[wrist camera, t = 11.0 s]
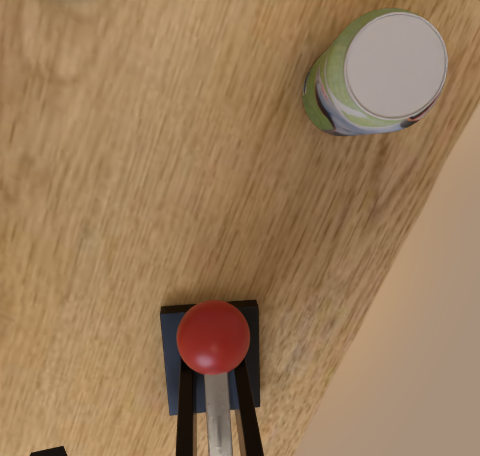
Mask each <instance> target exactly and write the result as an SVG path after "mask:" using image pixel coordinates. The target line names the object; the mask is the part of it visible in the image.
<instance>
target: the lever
mask: <svg viewBox="0 0 480 456" xmlns="http://www.w3.org/2000/svg"><path fill="white" fill-rule="evenodd" d="M249 344H250V331H249V327H248V324H247V321H246V319H245V317H244V316H243V315H242V313H241V312H240V311H239V310H238V309H237V308H236V307H234V306H233V305H231V304H229V303H227V302H224V301H219V300H208V301H204V302H201V303H199V304H197V305H195V306H193V307H192V308H191V309H189V310H188V311H187V312H186V314H185V315H184V316H183V318H182V320H181V321H180V324H179V327H178V330H177V347H178V350H179V353H180V355H181V357H182V359H183V360H184V362H185V363H186V364H187V365H188V366H189V367H190V368H191V369H193V370H194V371H196V372H198V373H201V374H204V380H205V398H206V416H207V434H208V453H209V456H233V449H232V434H231V419H230V404H229V389H228V374H227V372H230V371H231V370H233V369H234V368H236V367H237V366H238V365H239V364H240V363H241V362H242V360H243V359H244V357H245V355H246V354H247V351H248V348H249Z"/></svg>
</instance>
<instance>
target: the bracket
mask: <svg viewBox="0 0 480 456" xmlns="http://www.w3.org/2000/svg"><path fill="white" fill-rule="evenodd" d="M227 303H229V304H231V305H233V306H234V307H236V308H237V309H238V310H239V311H240V312H241V313H242V315H243V316H244V317H245V319H246V321H247V324H248V327H249V331H250V344H249V348H248V351H247V354H246V355H245V357H244V359H243V360H242V362H241V363H240V364H239V365H238V366H237V367H236V368H234V369H233V370H231V371H230V372H227V374H228V389H229V404H230V410H234V409H235V416H236V424H237V431H238V439H239V447H240V454H241V456H264V453H263V448H262V443H261V438H260V432H259V427H258V422H257V417H256V412H255V407H260V365H259V307H258V304H257V300H245V301H232V302H227ZM195 305H197V304H191V305H177V306H163V307H161V311H160V320H161V330H162V341H163V351H164V362H165V372H166V383H167V393H168V404H169V414H170V416H171V415H178V418H177V438H176V456H197V413H202V412H206V398H205V380H204V374H201V373H198V372H196V371H194V370H193V369H191V368H190V367H189V366H188V365H187V364H186V363H185V362H184V360H183V359H182V357H181V355H180V353H179V350H178V347H177V330H178V327H179V324H180V321H181V320H182V318H183V316H184V315H185V314H186V312H187V311H188V310H189V309H191V308H192V307H193V306H195Z"/></svg>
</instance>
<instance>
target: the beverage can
mask: <svg viewBox="0 0 480 456" xmlns="http://www.w3.org/2000/svg"><path fill="white" fill-rule="evenodd" d="M447 69H448V56H447V50H446V46H445V43H444V41H443V39H442V36H441V35H440V33H439V32H438V30H437V29H436V28H435V27H434V26H433V25H432V24H431V23H430V22H429V21H427V20H426V19H424V18H423V17H421V16H419V15H418V14H416V13H413V12H411V11H408V10H404V9H399V8H383V9H378V10H374V11H371V12H369V13H366V14H364V15H362V16H360V17H359V18H357V19H356V20H354V21H353V22H352V23H351V24H349V25H348V26H347V27H346V28H345V29H344V30H343V31H342V32H341V34H340V35H339V36H338V37H337V38H336V39H335V40H334V42H333V43H332V44H331V45H330V46H329V47H328V48H327V50H326V51H325V52H324V53H323V54H322V55H321V56H320V57H319V59H318V60H317V61H316V62H315V63H314V64H313V66H312V67H311V68H310V70H309V72H308V73H307V75H306V78H305V81H304V85H303V92H302V98H303V105H304V108H305V111H306V113H307V115H308V117H309V119H310V120H311V121H312V122H313V124H314V125H316V126H317V127H318V128H319V129H321V130H322V131H324V132H326V133H329V134H331V135H336V136H352V135H365V134H378V133H389V132H394V131H399V130H401V129H404V128H407V127H409V126H411V125H412V124H414V123H416V122H417V121H419V120H420V119H421V118H422V117H424V116H425V115H426V114H427V113H428V112H429V110H430V109H431V108H432V107H433V106H434V104H435V103H436V101H437V99H438V98H439V96H440V94H441V91H442V89H443V87H444V83H445V79H446V74H447Z"/></svg>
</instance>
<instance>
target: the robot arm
mask: <svg viewBox="0 0 480 456" xmlns="http://www.w3.org/2000/svg"><path fill="white" fill-rule="evenodd" d="M30 456H67V454H66V451H65V448H64V446H60V447H56V448H51V449H46V450H42V451H37V452H33V453H31V454H30Z"/></svg>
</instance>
